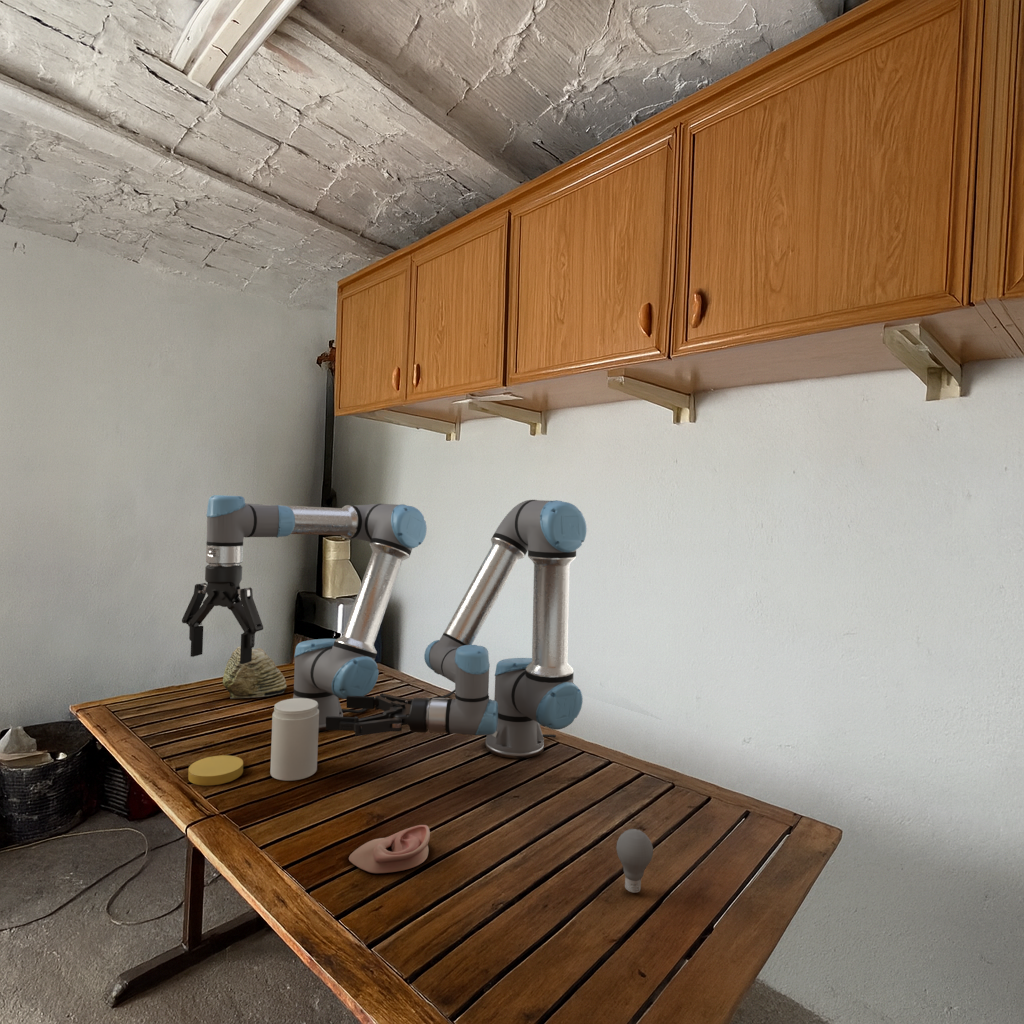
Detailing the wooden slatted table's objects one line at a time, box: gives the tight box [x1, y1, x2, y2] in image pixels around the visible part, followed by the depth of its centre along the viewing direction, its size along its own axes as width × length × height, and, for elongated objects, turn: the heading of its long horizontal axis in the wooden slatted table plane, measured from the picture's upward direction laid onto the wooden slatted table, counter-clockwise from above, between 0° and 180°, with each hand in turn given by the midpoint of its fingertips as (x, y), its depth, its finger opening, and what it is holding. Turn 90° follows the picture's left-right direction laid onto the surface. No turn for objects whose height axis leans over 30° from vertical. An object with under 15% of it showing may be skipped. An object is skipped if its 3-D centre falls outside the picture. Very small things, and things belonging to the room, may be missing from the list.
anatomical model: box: [348, 824, 431, 874], centre depth 113 cm, size 13×4×12 cm
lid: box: [187, 754, 244, 787], centre depth 142 cm, size 11×11×2 cm
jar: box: [269, 697, 319, 782], centre depth 145 cm, size 10×10×15 cm
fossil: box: [222, 646, 288, 699], centre depth 198 cm, size 9×18×15 cm, turn 132°
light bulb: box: [615, 828, 654, 894], centre depth 106 cm, size 6×6×10 cm
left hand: (220, 659), depth 142 cm, fingers open, 13 cm apart
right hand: (337, 711), depth 144 cm, fingers open, 13 cm apart
